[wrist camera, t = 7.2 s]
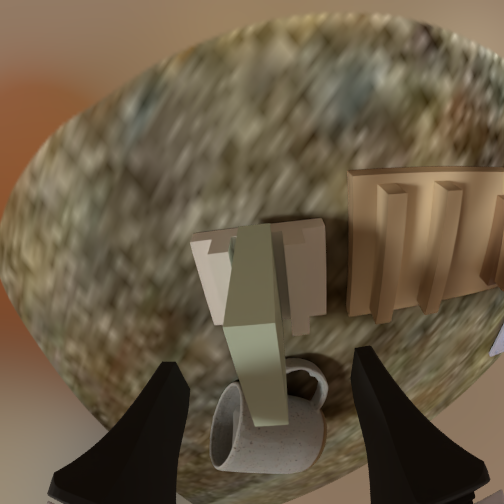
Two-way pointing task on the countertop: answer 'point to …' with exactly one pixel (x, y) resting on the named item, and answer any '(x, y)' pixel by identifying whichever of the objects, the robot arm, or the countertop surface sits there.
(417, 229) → the rack
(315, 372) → the ceramic mug
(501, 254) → the offcut top
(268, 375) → the pale green square slab
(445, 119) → the countertop surface
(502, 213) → the offcut low
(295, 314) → the stand
